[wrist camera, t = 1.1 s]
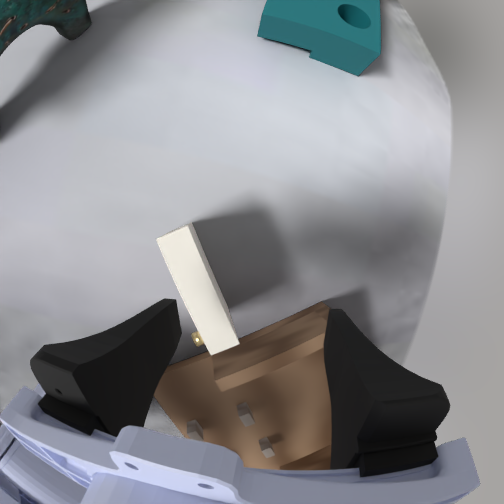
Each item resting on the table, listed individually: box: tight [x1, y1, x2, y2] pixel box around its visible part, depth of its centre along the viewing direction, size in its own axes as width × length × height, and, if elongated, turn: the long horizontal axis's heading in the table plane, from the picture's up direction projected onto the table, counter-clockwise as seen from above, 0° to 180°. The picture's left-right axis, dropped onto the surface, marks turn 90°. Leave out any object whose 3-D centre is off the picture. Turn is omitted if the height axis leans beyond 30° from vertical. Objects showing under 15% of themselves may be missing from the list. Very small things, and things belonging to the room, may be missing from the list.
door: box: [156, 223, 240, 355], centre depth 20 cm, size 3×8×7 cm, turn 21°
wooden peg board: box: [154, 302, 332, 470], centre depth 24 cm, size 18×20×5 cm
